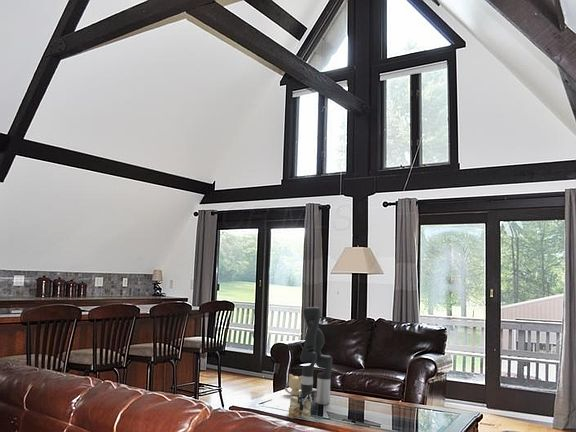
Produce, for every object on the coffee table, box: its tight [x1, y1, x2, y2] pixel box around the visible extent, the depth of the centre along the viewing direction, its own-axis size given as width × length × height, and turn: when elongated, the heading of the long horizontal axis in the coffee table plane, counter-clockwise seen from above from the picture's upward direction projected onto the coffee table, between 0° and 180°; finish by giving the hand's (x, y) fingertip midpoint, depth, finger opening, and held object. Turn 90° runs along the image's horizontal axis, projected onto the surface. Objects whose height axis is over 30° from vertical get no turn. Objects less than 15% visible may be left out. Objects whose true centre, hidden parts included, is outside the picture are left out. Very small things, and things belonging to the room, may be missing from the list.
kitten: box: [284, 373, 302, 396], centre depth 383 cm, size 15×10×15 cm
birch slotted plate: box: [289, 396, 312, 419], centre depth 329 cm, size 4×14×10 cm, turn 51°
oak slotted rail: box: [287, 406, 302, 419], centre depth 329 cm, size 18×4×6 cm, turn 141°
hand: (305, 409), depth 327 cm, fingers open, 8 cm apart
